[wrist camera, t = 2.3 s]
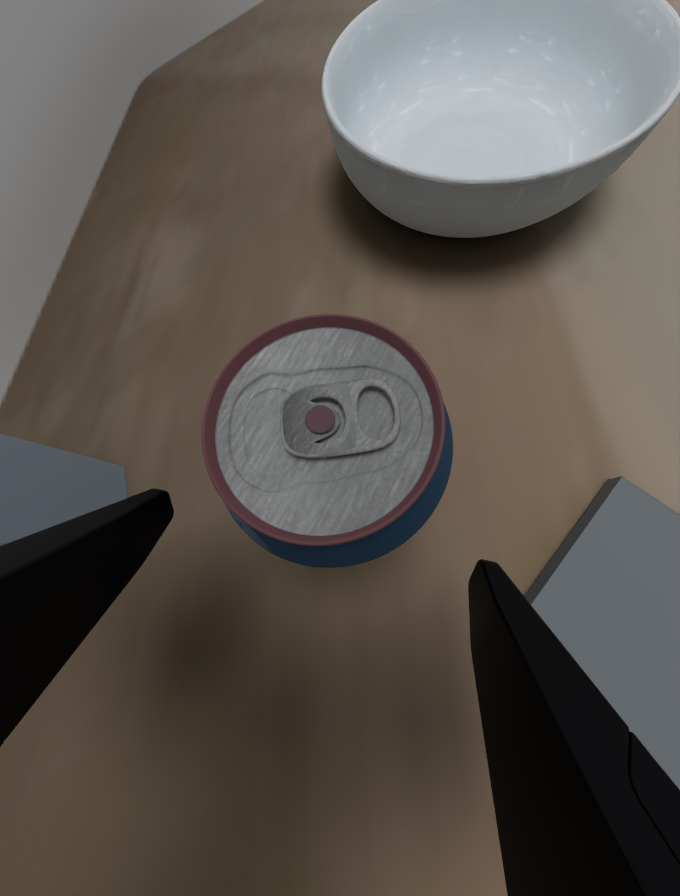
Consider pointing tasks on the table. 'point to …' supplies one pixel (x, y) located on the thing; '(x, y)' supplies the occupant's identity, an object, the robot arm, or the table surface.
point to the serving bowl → (495, 104)
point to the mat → (623, 610)
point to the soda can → (328, 440)
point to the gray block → (51, 487)
